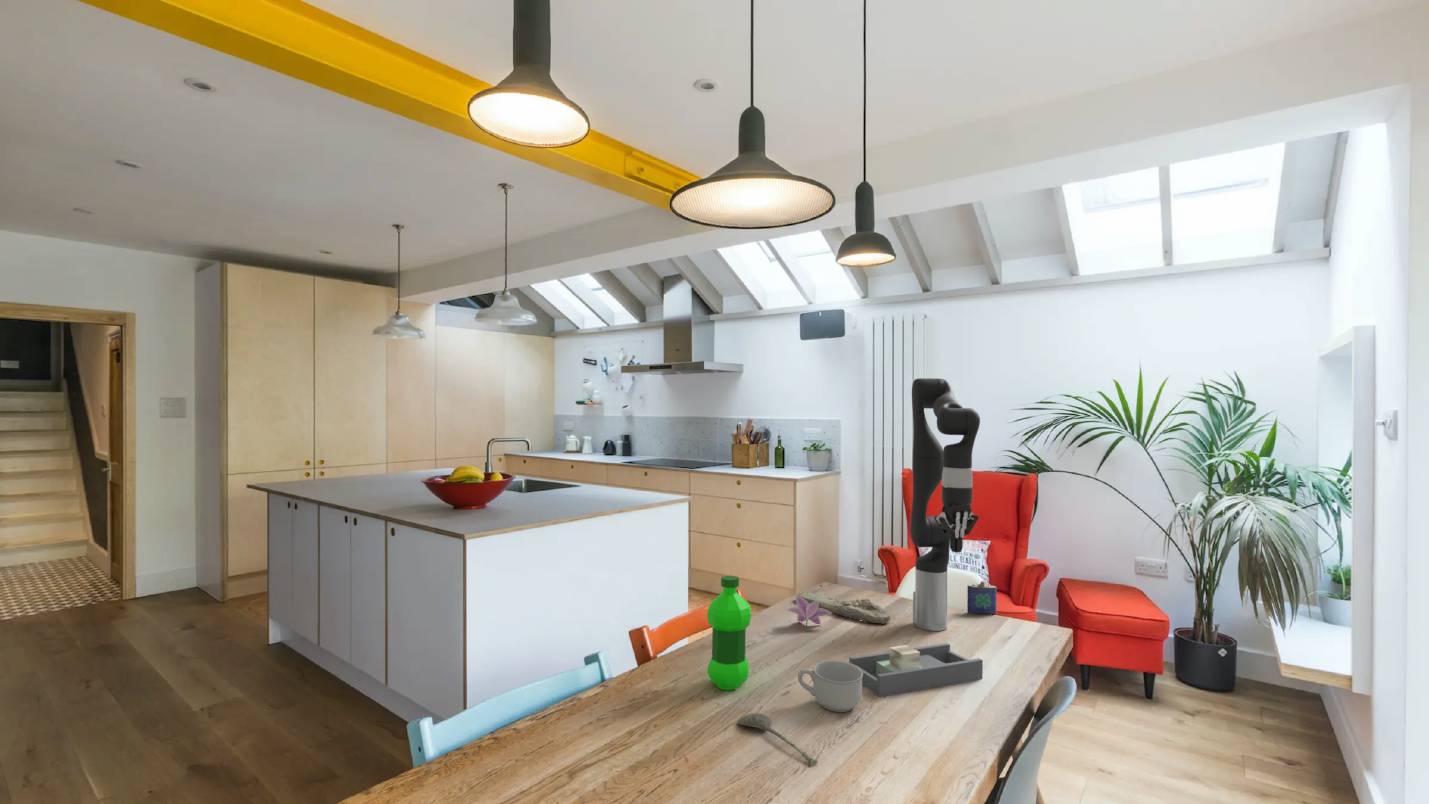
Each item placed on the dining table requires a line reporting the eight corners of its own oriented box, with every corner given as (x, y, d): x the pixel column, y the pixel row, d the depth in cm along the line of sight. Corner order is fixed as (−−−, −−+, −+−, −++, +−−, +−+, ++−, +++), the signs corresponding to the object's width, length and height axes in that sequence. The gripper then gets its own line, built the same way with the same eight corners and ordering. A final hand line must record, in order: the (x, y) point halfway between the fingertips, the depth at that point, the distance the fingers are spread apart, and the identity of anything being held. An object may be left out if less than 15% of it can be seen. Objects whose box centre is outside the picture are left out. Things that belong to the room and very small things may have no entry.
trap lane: (848, 675, 160) (849, 657, 160) (946, 660, 171) (946, 643, 171) (879, 696, 148) (880, 676, 149) (982, 678, 160) (982, 660, 160)
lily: (836, 635, 193) (835, 602, 198) (812, 627, 186) (812, 593, 191) (803, 638, 200) (803, 606, 205) (779, 631, 193) (780, 598, 198)
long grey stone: (808, 601, 229) (789, 608, 222) (807, 586, 229) (788, 593, 222) (897, 620, 204) (880, 628, 197) (896, 603, 204) (879, 611, 197)
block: (889, 663, 160) (889, 647, 160) (906, 661, 162) (906, 645, 162) (902, 671, 156) (902, 654, 156) (919, 668, 157) (919, 651, 158)
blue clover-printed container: (994, 612, 214) (995, 579, 214) (998, 615, 211) (998, 582, 211) (966, 612, 215) (966, 579, 215) (969, 614, 212) (969, 581, 212)
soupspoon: (757, 719, 139) (731, 728, 135) (756, 703, 139) (730, 711, 135) (827, 763, 120) (799, 774, 117) (826, 744, 120) (798, 755, 117)
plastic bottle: (759, 685, 154) (760, 578, 154) (729, 698, 146) (731, 586, 146) (727, 673, 160) (729, 570, 161) (697, 685, 153) (699, 577, 153)
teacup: (865, 700, 147) (865, 664, 147) (859, 721, 136) (859, 682, 137) (803, 690, 151) (804, 655, 151) (793, 710, 141) (794, 672, 141)
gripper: (966, 482, 176) (965, 547, 176) (926, 483, 171) (925, 550, 171) (987, 485, 169) (986, 553, 169) (946, 487, 164) (945, 556, 164)
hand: (956, 551), depth 170 cm, fingers closed
